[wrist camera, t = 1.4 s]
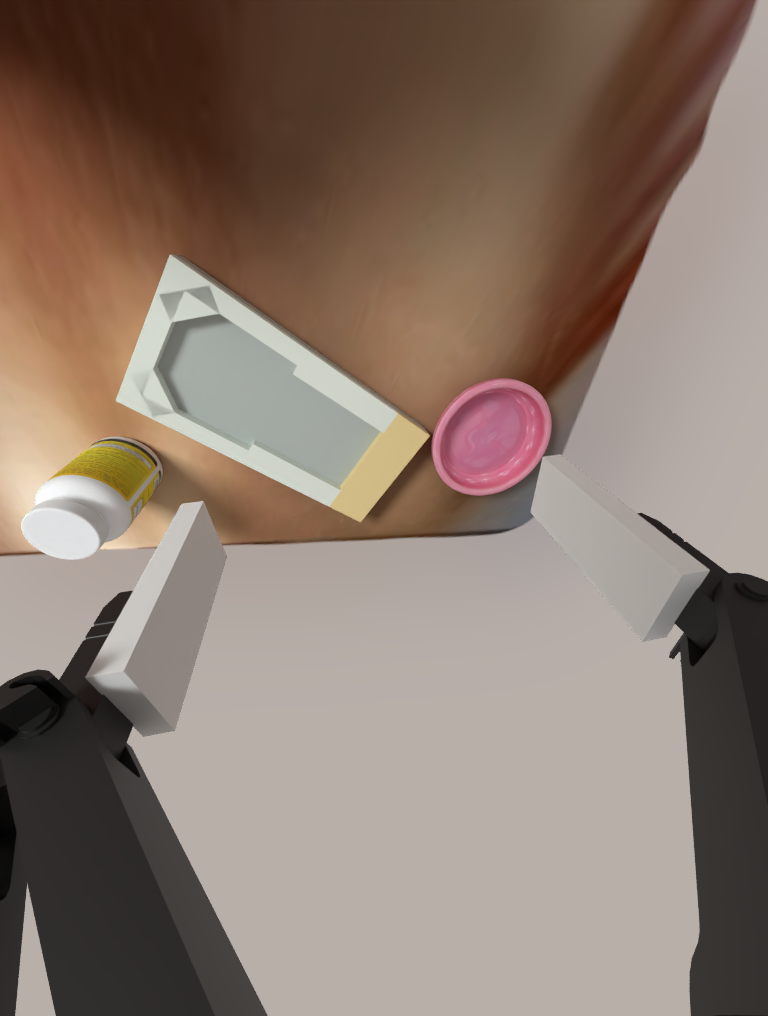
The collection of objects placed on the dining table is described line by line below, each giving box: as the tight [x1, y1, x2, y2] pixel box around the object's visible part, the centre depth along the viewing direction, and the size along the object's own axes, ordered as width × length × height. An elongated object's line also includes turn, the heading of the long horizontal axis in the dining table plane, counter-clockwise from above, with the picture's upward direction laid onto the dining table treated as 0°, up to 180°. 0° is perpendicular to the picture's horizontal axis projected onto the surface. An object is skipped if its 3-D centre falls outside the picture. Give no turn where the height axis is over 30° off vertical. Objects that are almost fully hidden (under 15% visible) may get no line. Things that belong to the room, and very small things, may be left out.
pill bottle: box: [21, 437, 163, 560], centre depth 30 cm, size 6×6×11 cm
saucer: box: [432, 378, 552, 496], centre depth 37 cm, size 12×12×3 cm
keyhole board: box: [116, 254, 430, 522], centre depth 33 cm, size 24×12×2 cm, turn 53°
